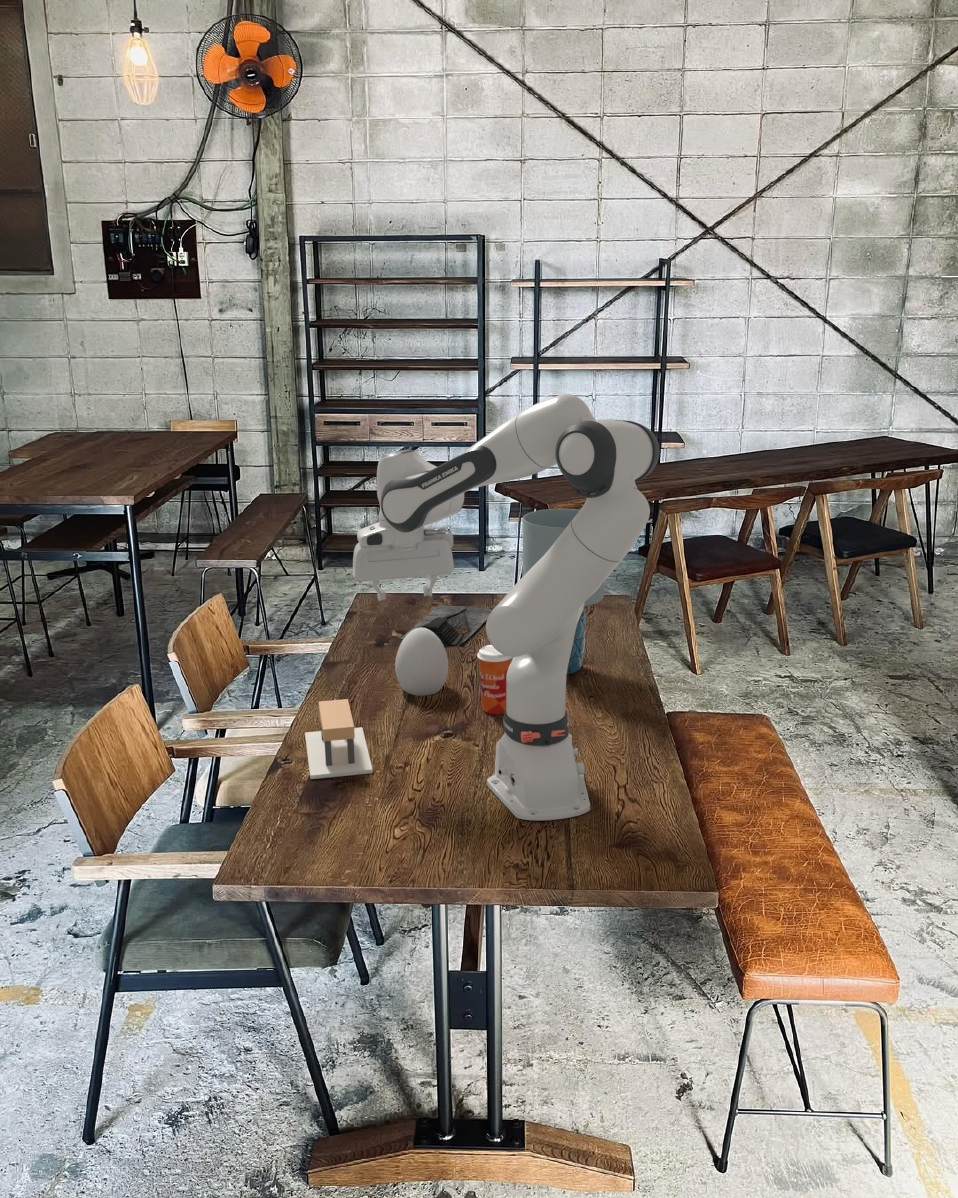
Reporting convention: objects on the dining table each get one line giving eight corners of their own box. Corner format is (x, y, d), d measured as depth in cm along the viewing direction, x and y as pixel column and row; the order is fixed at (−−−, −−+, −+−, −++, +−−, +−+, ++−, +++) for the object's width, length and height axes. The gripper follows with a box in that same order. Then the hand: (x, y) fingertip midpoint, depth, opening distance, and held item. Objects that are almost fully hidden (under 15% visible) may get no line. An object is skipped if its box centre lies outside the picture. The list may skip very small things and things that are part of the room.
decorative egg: (436, 676, 254) (434, 616, 250) (457, 693, 243) (456, 632, 239) (388, 684, 249) (386, 624, 244) (407, 703, 238) (405, 640, 234)
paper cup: (471, 712, 233) (470, 652, 229) (487, 699, 240) (487, 641, 236) (503, 718, 230) (503, 658, 226) (518, 706, 236) (518, 647, 232)
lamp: (540, 650, 270) (541, 505, 258) (612, 662, 262) (617, 513, 250) (509, 676, 253) (509, 522, 242) (584, 689, 245) (588, 531, 234)
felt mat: (372, 773, 206) (372, 769, 206) (310, 779, 204) (310, 775, 203) (362, 730, 225) (362, 727, 224) (305, 736, 222) (304, 732, 222)
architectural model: (461, 654, 273) (494, 625, 301) (463, 632, 271) (496, 604, 299) (399, 641, 278) (437, 613, 305) (401, 619, 276) (439, 593, 304)
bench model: (320, 737, 220) (318, 701, 217) (349, 734, 221) (347, 699, 218) (325, 767, 207) (323, 729, 204) (355, 764, 208) (354, 726, 205)
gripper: (449, 524, 215) (452, 589, 220) (349, 531, 211) (353, 598, 215) (456, 530, 210) (458, 597, 214) (352, 539, 205) (357, 607, 209)
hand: (405, 598), depth 214 cm, fingers open, 8 cm apart
